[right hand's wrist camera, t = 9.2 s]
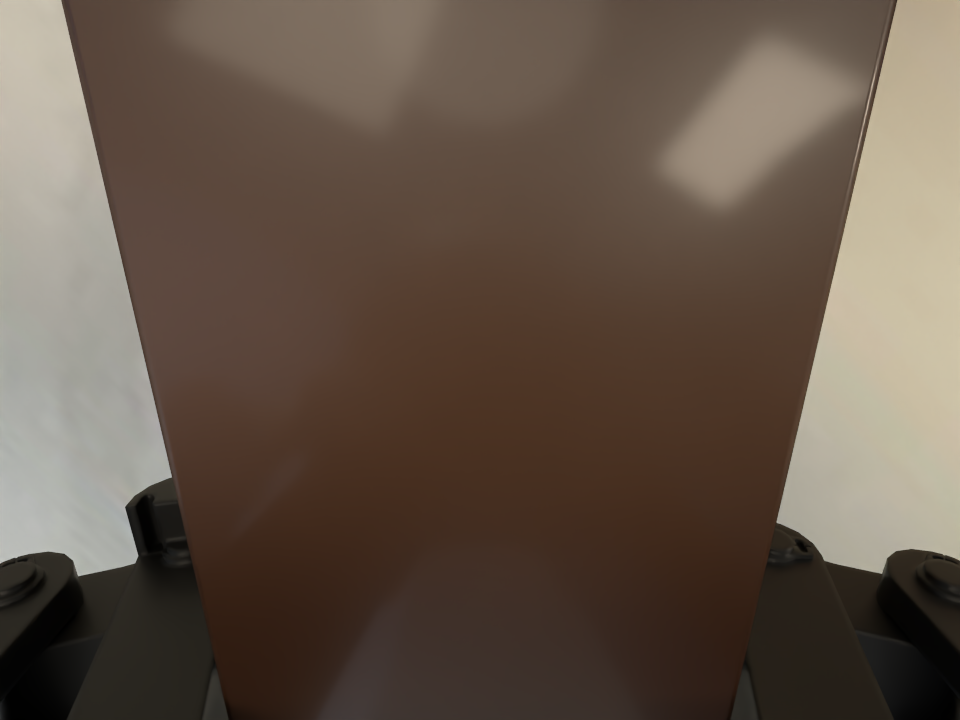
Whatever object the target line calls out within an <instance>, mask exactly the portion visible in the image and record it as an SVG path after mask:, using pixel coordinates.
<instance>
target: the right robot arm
mask: <svg viewBox="0 0 960 720" xmlns="http://www.w3.org/2000/svg"><path fill="white" fill-rule="evenodd" d="M125 508H126V512H127V516H128V519H129V523H130V526H131V530H132V534H133V537H134V541H135V545H136V548H137V552H138V558H137V561H136V563H135V564H132V565H128V566H125V567H121V568H116V569H111V570H106V571H102V572H97V573H92V574H88V575H83V576H78V575H77V572H76V569H75V566H74V563H73V560H71V559H70V558H69V557H68V556H66V555H65V554H61V553H54V552H42V553H35V554H28V555H24V556H20V557H18V558H13V559H10V560H7V561H5V562H2V563H1V564H0V720H229V719H228V715H227V711H226V706H225V702H224V698H223V693H222V689H221V685H220V681H219V676H218V672H217V668H216V663H215V659H214V655H213V650H212V646H211V642H210V638H209V633H208V629H207V625H206V620H205V616H204V612H203V607H202V603H201V599H200V594H199V590H198V586H197V582H196V577H195V573H194V569H193V564H192V560H191V556H190V551H189V547H188V543H187V538H186V534H185V530H184V526H183V521H182V517H181V513H180V508H179V504H178V500H177V495H176V491H175V487H174V483H173V478H169V479H166V480H164V481H161V482H159V483H156V484H154V485H151V486H149V487H148V488H146V489H145V490H143V491H142V492H140V493H138V494H137V495H135V496H134V497H133V499H132V500H131V501H130V502H129V503H128V504H127V505H126V507H125ZM731 720H960V561H959V560H957V559H955V558H952V557H949V556H946V555H945V556H944V555H943V554H939V553H935V552H930V551H922V550H914V549H909V550H902V551H896V552H895V553H893V554H892V555H891V556H890V557H888V558H887V561H886V564H885V567H884V570H883V573H882V574H879V573H875V572H870V571H865V570H860V569H856V568H851V567H846V566H841V565H837V564H833V563H830V562H826V561H824V560H823V557H822V555H821V554H820V553H819V551H818V550H817V548H816V547H815V546H814V544H813V543H812V542H810V541H809V540H808V539H806V538H805V537H804V536H802V535H801V534H800V533H798V532H796V531H794V530H792V529H790V528H788V527H785V526H783V525H781V524H778V523H776V525H775V530H774V534H773V538H772V543H771V547H770V551H769V556H768V560H767V564H766V568H765V573H764V577H763V581H762V586H761V590H760V594H759V599H758V603H757V607H756V612H755V616H754V620H753V625H752V629H751V633H750V638H749V642H748V646H747V651H746V655H745V659H744V663H743V668H742V672H741V676H740V681H739V685H738V689H737V694H736V698H735V702H734V707H733V711H732V715H731Z"/></svg>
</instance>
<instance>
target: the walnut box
mask: <svg viewBox="0 0 960 720" xmlns="http://www.w3.org/2000/svg"><path fill="white" fill-rule="evenodd" d="M896 3H897V0H62V5H63V9H64V13H65V18H66V22H67V26H68V30H69V35H70V39H71V43H72V48H73V52H74V56H75V61H76V65H77V69H78V74H79V78H80V82H81V86H82V91H83V95H84V99H85V104H86V108H87V112H88V117H89V121H90V125H91V130H92V134H93V138H94V142H95V147H96V151H97V155H98V160H99V164H100V168H101V173H102V177H103V181H104V185H105V190H106V194H107V198H108V203H109V207H110V211H111V216H112V220H113V224H114V229H115V233H116V237H117V241H118V246H119V250H120V254H121V259H122V263H123V267H124V272H125V276H126V280H127V284H128V289H129V293H130V297H131V302H132V306H133V310H134V315H135V319H136V323H137V328H138V332H139V336H140V340H141V345H142V349H143V353H144V358H145V362H146V366H147V371H148V375H149V379H150V384H151V388H152V392H153V396H154V401H155V405H156V409H157V414H158V418H159V422H160V427H161V431H162V435H163V439H164V444H165V448H166V452H167V457H168V461H169V465H170V470H171V474H172V478H173V483H174V487H175V491H176V495H177V500H178V504H179V508H180V513H181V517H182V521H183V526H184V530H185V534H186V538H187V543H188V547H189V551H190V556H191V560H192V564H193V569H194V573H195V577H196V582H197V586H198V590H199V594H200V599H201V603H202V607H203V612H204V616H205V620H206V625H207V629H208V633H209V638H210V642H211V646H212V650H213V655H214V659H215V663H216V668H217V672H218V676H219V681H220V685H221V689H222V693H223V698H224V702H225V706H226V711H227V715H228V719H229V720H731V715H732V711H733V707H734V702H735V698H736V694H737V689H738V685H739V681H740V676H741V672H742V668H743V663H744V659H745V655H746V651H747V646H748V642H749V638H750V633H751V629H752V625H753V620H754V616H755V612H756V607H757V603H758V599H759V594H760V590H761V586H762V581H763V577H764V573H765V568H766V564H767V560H768V556H769V551H770V547H771V543H772V538H773V534H774V530H775V525H776V521H777V517H778V512H779V508H780V504H781V499H782V495H783V491H784V486H785V482H786V478H787V474H788V469H789V465H790V461H791V456H792V452H793V448H794V443H795V439H796V435H797V430H798V426H799V422H800V417H801V413H802V409H803V404H804V400H805V396H806V391H807V387H808V383H809V379H810V374H811V370H812V366H813V361H814V357H815V353H816V348H817V344H818V340H819V335H820V331H821V327H822V322H823V318H824V314H825V309H826V305H827V301H828V296H829V292H830V288H831V284H832V279H833V275H834V271H835V266H836V262H837V258H838V253H839V249H840V245H841V240H842V236H843V232H844V227H845V223H846V219H847V214H848V210H849V206H850V201H851V197H852V193H853V189H854V184H855V180H856V176H857V171H858V167H859V163H860V158H861V154H862V150H863V145H864V141H865V137H866V132H867V128H868V124H869V119H870V115H871V111H872V106H873V102H874V98H875V94H876V89H877V85H878V81H879V76H880V72H881V68H882V63H883V59H884V55H885V50H886V46H887V42H888V37H889V33H890V29H891V24H892V20H893V16H894V11H895V7H896Z"/></svg>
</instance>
